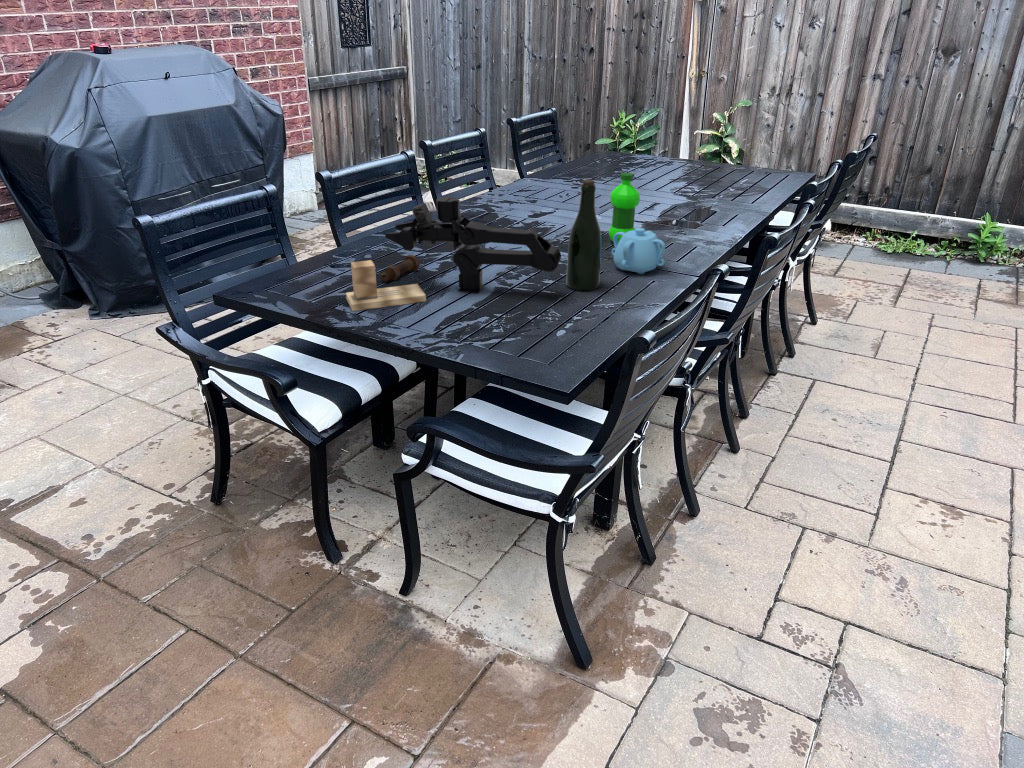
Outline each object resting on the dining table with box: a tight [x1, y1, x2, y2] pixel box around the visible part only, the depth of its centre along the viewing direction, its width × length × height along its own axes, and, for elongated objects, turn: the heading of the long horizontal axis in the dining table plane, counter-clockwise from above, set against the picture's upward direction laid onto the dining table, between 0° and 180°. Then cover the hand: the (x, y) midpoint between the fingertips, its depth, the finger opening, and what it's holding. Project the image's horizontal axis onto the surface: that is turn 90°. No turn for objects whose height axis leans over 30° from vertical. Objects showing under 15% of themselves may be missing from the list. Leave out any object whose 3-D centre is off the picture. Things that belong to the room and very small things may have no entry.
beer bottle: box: [565, 179, 602, 292], centre depth 227 cm, size 10×10×33 cm
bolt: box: [380, 254, 421, 283], centre depth 239 cm, size 6×5×15 cm
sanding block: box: [350, 259, 378, 301], centre depth 217 cm, size 6×5×10 cm
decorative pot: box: [610, 227, 666, 275], centre depth 246 cm, size 16×16×14 cm
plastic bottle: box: [608, 172, 641, 243], centre depth 267 cm, size 10×10×25 cm
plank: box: [345, 283, 427, 312], centre depth 222 cm, size 22×10×2 cm, turn 111°
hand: (390, 231), depth 227 cm, fingers open, 9 cm apart
